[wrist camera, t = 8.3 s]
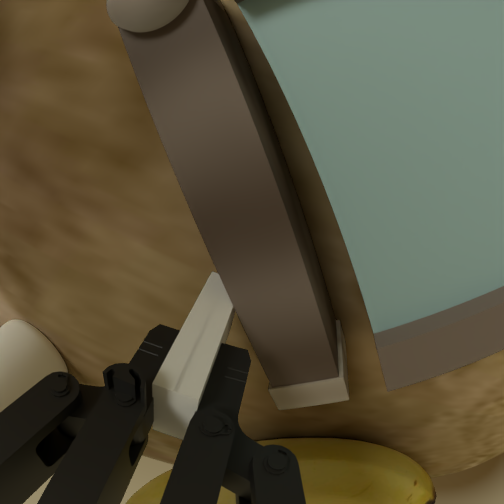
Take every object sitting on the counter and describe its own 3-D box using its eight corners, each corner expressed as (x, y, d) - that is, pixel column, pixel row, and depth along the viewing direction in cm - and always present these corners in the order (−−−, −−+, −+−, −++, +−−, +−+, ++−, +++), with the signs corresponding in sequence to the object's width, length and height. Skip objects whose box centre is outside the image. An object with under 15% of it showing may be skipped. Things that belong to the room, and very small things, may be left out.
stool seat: (224, -25, 10) (195, -62, 7) (498, -71, 5) (529, -95, 1) (377, 338, 17) (387, 391, 13) (586, 249, 12) (620, 279, 8)
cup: (43, 318, 22) (-34, 400, 12) (102, 416, 26) (57, 493, 17) (-4, 314, 23) (-67, 376, 14) (50, 401, 28) (7, 463, 19)
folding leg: (149, 11, 11) (94, -12, 7) (216, -21, 10) (178, -62, 6) (286, 353, 18) (277, 415, 14) (345, 341, 17) (349, 404, 13)
